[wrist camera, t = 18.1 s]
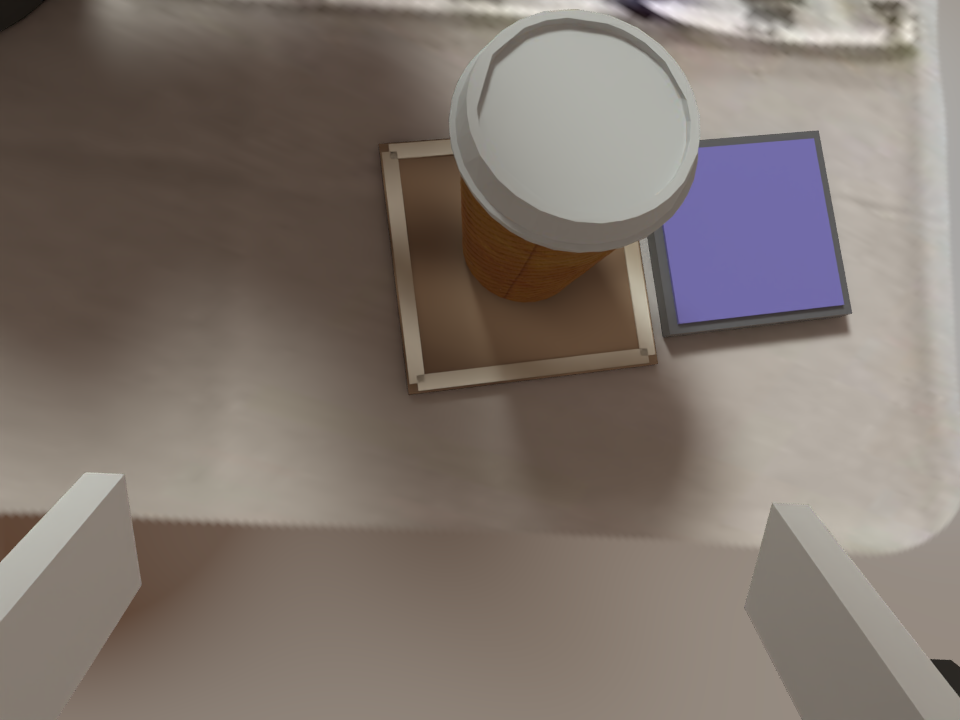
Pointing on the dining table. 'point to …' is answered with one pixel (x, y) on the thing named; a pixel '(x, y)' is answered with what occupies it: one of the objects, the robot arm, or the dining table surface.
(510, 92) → the disposable coffee cup
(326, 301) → the dining table surface
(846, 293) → the ink pad
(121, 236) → the dining table surface
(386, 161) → the brown square tray
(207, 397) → the dining table surface
